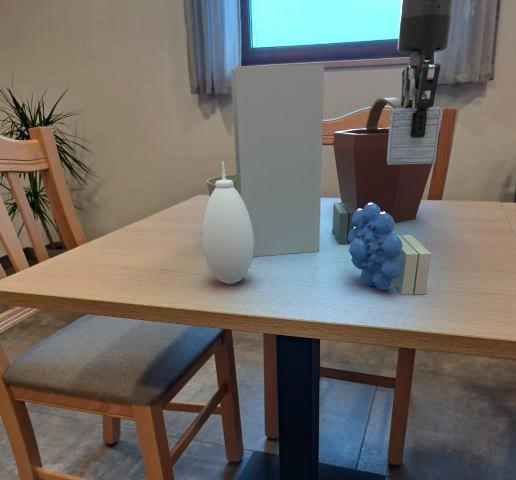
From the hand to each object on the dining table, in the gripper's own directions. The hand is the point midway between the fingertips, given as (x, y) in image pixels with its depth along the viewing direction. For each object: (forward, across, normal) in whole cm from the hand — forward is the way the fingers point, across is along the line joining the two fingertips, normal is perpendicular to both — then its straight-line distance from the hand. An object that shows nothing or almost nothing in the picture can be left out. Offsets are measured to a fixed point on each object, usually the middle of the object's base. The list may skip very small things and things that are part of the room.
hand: (412, 136), depth 79 cm
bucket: (+19, +26, 0) cm, 32 cm away
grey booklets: (+19, +7, +10) cm, 23 cm away
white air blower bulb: (+19, -18, +31) cm, 41 cm away
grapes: (+19, -22, +10) cm, 31 cm away
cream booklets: (+19, -20, +4) cm, 28 cm away
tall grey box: (+19, -1, +23) cm, 30 cm away
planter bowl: (+19, +16, +31) cm, 39 cm away
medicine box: (+5, 0, 0) cm, 5 cm away
